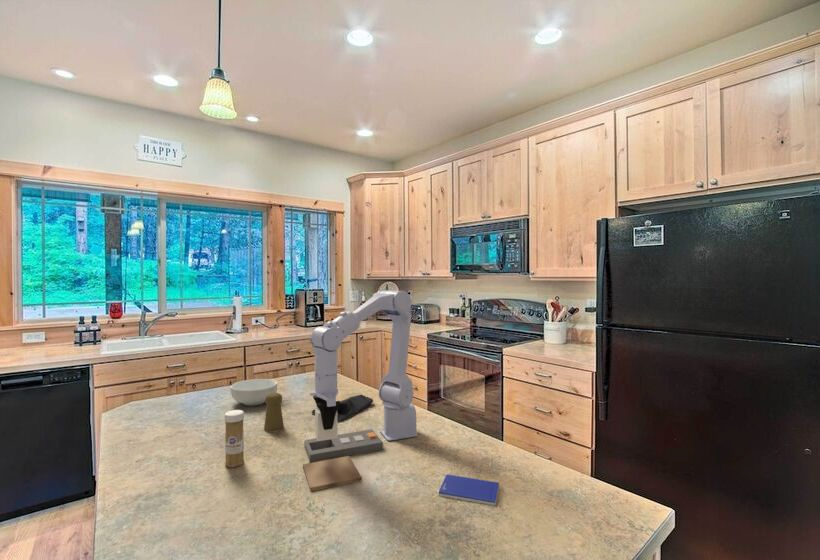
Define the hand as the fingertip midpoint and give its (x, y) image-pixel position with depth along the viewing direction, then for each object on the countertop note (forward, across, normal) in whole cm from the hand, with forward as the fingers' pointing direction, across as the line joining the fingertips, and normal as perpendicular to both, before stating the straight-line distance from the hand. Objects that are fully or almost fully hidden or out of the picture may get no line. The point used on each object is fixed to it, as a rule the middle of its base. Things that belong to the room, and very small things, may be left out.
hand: (326, 425), depth 103 cm
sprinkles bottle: (+10, -9, -22) cm, 26 cm away
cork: (+10, -30, -11) cm, 34 cm away
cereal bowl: (+10, -60, -16) cm, 63 cm away
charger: (+3, 0, 0) cm, 3 cm away
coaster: (+10, +6, 0) cm, 11 cm away
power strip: (+10, -7, +6) cm, 14 cm away
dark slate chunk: (+11, -39, +14) cm, 42 cm away
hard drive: (+11, +25, +28) cm, 39 cm away
